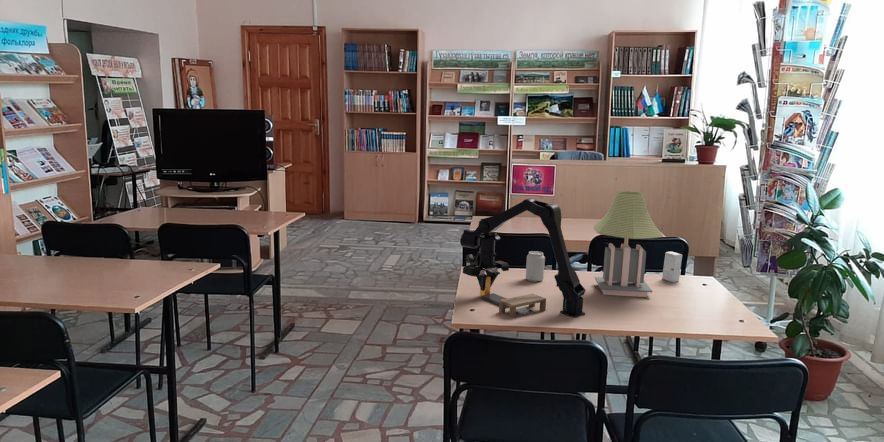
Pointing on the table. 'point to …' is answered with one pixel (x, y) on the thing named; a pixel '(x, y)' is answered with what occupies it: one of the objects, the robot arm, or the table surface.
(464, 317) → the table surface
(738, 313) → the table surface
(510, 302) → the small wooden bench
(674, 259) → the skincare box
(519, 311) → the steel token
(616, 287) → the desk lamp
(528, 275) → the can
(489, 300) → the orange grey l-shaped block
